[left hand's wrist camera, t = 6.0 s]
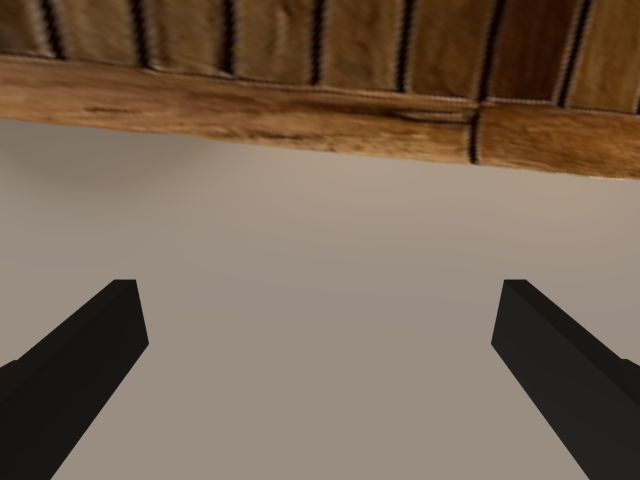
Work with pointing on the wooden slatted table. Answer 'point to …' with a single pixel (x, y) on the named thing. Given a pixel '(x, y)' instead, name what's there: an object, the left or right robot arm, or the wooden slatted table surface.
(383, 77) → the wooden slatted table surface
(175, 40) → the wooden slatted table surface
